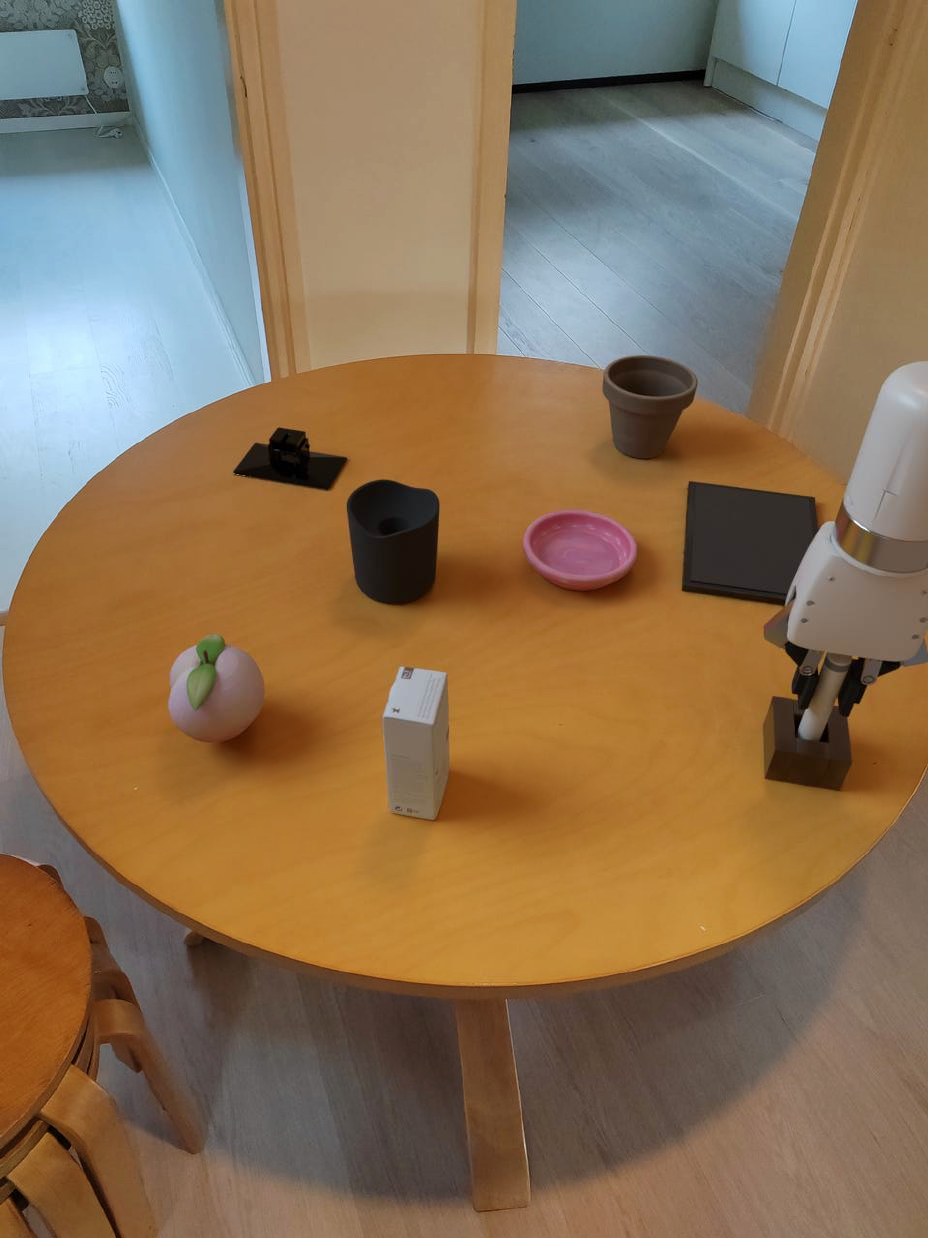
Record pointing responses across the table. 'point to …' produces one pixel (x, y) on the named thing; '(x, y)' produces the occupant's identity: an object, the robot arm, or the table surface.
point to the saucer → (579, 549)
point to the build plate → (291, 461)
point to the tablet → (745, 541)
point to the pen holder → (393, 540)
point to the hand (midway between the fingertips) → (822, 700)
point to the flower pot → (646, 401)
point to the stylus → (824, 696)
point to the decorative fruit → (215, 690)
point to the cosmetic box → (417, 742)
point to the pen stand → (805, 748)
